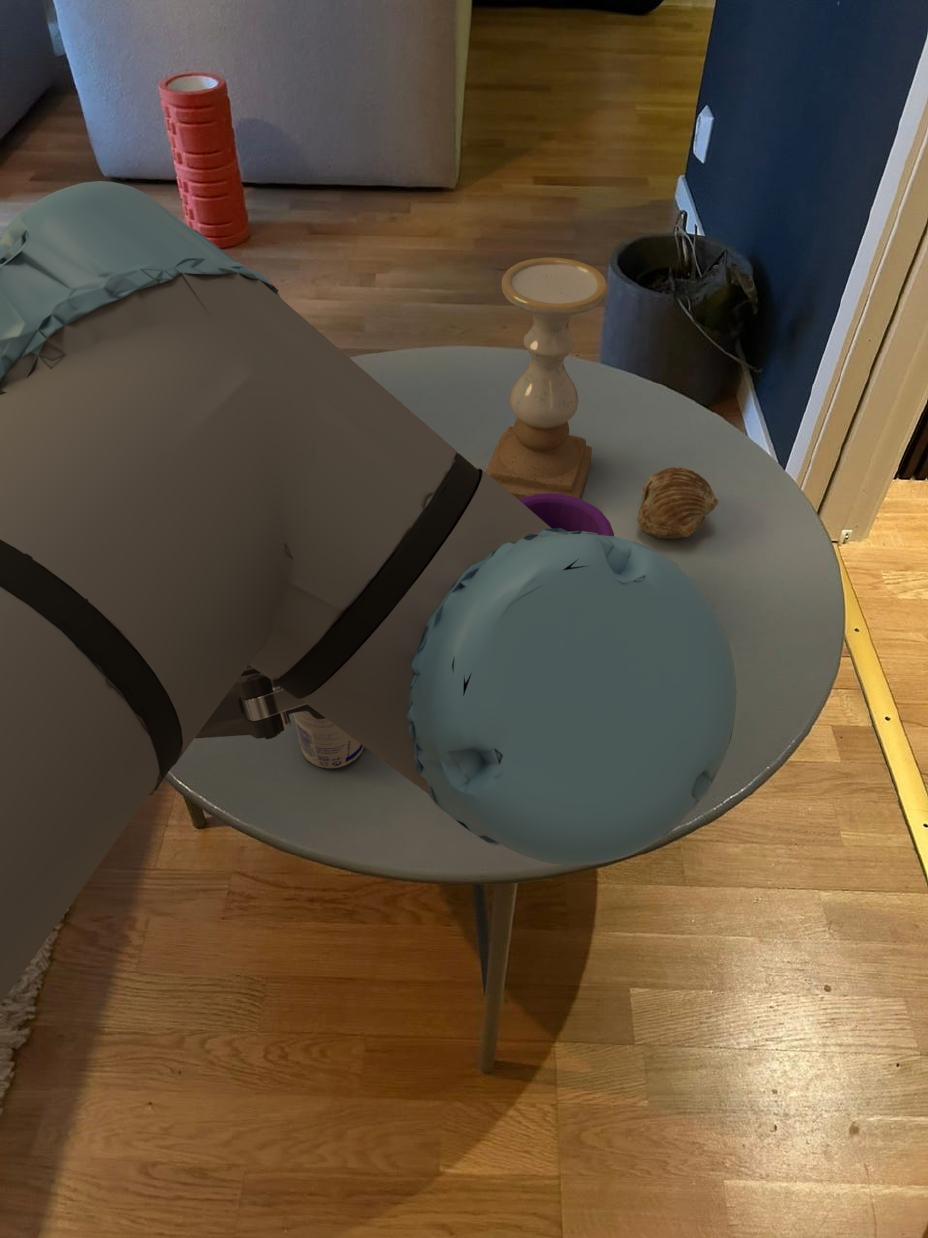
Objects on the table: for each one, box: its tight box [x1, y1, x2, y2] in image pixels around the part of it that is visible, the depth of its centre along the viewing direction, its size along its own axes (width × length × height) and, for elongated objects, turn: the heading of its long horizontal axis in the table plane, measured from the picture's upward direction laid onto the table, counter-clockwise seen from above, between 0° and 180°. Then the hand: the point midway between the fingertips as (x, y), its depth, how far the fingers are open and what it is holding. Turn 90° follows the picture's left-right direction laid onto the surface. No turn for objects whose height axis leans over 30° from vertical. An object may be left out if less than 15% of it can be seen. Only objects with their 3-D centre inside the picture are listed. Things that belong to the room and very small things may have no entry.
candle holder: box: [485, 257, 608, 500], centre depth 96 cm, size 11×11×24 cm
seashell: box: [637, 466, 719, 540], centre depth 96 cm, size 9×7×8 cm
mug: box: [518, 493, 615, 536], centre depth 86 cm, size 17×11×10 cm, turn 121°
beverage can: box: [293, 711, 365, 769], centre depth 73 cm, size 6×6×15 cm
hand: (348, 650), depth 54 cm, fingers open, 13 cm apart
